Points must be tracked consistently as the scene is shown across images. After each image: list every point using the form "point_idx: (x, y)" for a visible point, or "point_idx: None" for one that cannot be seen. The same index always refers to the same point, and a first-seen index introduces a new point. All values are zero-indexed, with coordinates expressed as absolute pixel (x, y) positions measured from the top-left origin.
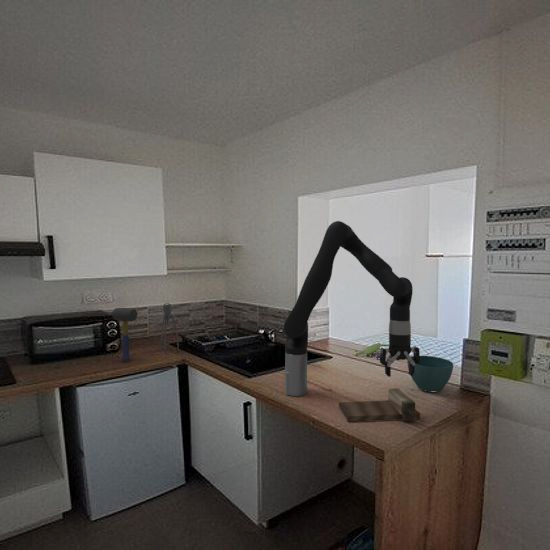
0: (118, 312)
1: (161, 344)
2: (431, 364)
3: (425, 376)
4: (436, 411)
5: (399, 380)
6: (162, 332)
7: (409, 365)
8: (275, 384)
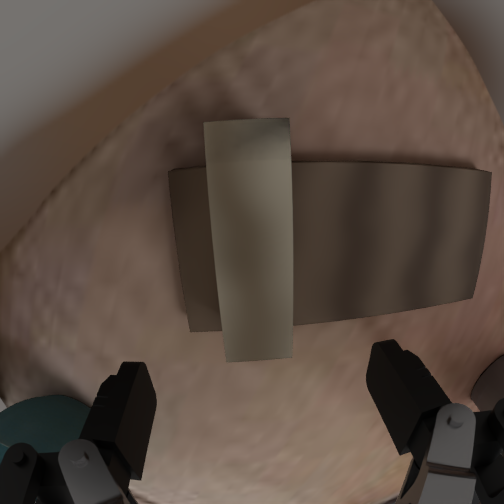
0: None
1: None
2: None
3: (67, 438)
4: (77, 247)
5: (158, 471)
6: None
7: (134, 464)
8: None
